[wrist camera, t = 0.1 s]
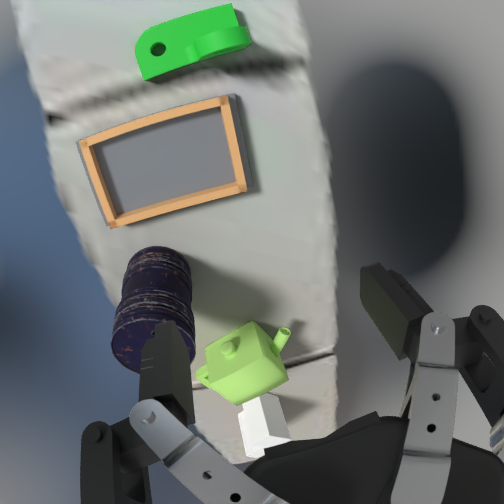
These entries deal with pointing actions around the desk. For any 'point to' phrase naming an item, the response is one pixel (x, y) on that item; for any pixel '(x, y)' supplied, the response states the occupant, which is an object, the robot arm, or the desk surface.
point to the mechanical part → (190, 40)
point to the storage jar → (152, 303)
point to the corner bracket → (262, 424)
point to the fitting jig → (167, 160)
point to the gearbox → (245, 363)
